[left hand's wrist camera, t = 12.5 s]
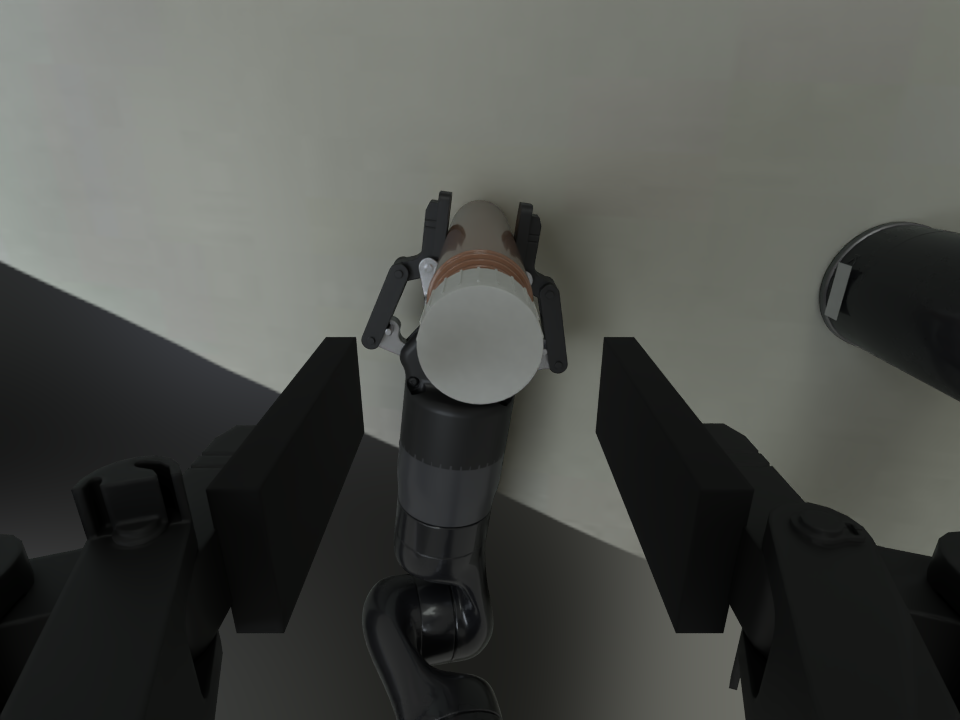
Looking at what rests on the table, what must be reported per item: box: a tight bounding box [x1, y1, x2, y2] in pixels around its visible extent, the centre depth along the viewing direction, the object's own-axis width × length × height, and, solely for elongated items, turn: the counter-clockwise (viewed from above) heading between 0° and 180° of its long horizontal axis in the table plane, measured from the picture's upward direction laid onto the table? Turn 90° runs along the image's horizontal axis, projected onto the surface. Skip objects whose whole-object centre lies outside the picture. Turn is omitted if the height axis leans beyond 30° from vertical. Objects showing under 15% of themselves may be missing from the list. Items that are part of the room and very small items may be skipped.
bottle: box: [427, 200, 533, 303], centre depth 28 cm, size 4×4×24 cm
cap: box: [416, 267, 544, 404], centre depth 18 cm, size 4×4×2 cm
